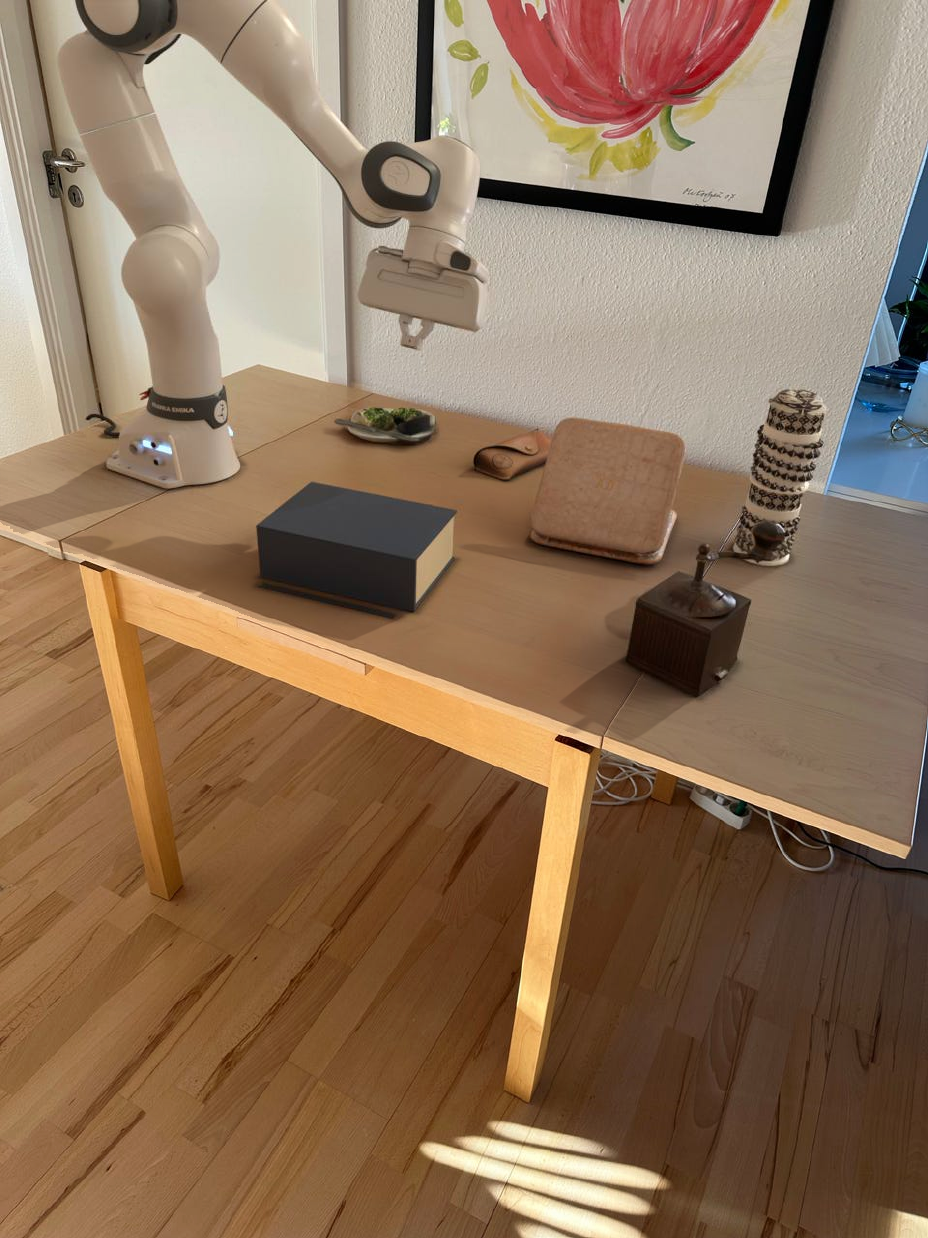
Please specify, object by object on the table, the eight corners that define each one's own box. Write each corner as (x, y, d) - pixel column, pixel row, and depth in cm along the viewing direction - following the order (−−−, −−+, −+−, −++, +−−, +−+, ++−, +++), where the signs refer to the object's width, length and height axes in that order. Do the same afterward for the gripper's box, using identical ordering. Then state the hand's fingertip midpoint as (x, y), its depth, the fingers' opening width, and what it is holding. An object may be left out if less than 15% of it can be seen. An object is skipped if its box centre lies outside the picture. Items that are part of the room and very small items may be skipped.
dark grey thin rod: (258, 586, 123) (258, 585, 123) (262, 583, 124) (262, 582, 124) (393, 618, 118) (393, 618, 118) (396, 615, 119) (396, 614, 119)
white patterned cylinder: (763, 572, 134) (805, 409, 120) (717, 546, 140) (753, 388, 127) (804, 559, 138) (850, 400, 125) (758, 534, 144) (797, 380, 131)
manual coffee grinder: (702, 701, 106) (734, 567, 96) (622, 662, 112) (645, 532, 102) (761, 648, 116) (795, 522, 106) (685, 615, 122) (711, 493, 112)
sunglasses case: (509, 480, 157) (496, 443, 155) (481, 488, 162) (468, 453, 161) (569, 453, 168) (557, 419, 167) (541, 462, 173) (530, 429, 172)
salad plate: (327, 444, 168) (326, 420, 165) (342, 412, 183) (341, 389, 180) (430, 451, 167) (431, 427, 165) (437, 418, 183) (438, 395, 180)
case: (523, 545, 137) (532, 445, 129) (559, 493, 154) (569, 402, 146) (656, 573, 132) (675, 471, 123) (678, 516, 149) (696, 423, 140)
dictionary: (260, 577, 125) (256, 525, 121) (313, 529, 138) (311, 481, 134) (414, 612, 120) (415, 559, 115) (454, 559, 132) (457, 509, 128)
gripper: (362, 237, 136) (342, 329, 139) (487, 263, 131) (463, 359, 134) (379, 248, 142) (358, 337, 145) (499, 274, 137) (476, 365, 140)
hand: (410, 348), depth 139 cm, fingers closed
